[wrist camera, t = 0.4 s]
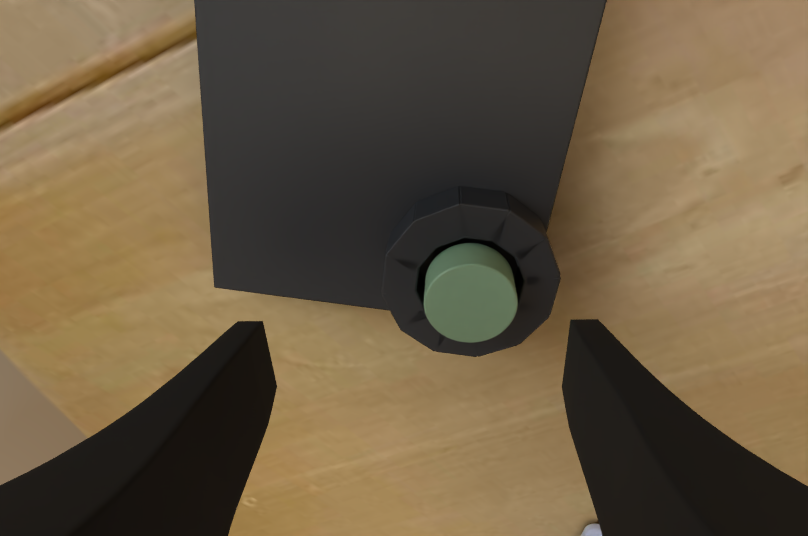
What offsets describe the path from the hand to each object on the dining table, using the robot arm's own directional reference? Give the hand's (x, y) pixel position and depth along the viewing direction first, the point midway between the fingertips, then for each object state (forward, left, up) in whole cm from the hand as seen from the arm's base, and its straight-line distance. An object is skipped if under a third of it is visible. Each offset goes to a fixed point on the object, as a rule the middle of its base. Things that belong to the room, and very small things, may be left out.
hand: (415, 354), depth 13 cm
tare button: (-1, -2, -6) cm, 7 cm away
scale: (+3, +2, -9) cm, 10 cm away
